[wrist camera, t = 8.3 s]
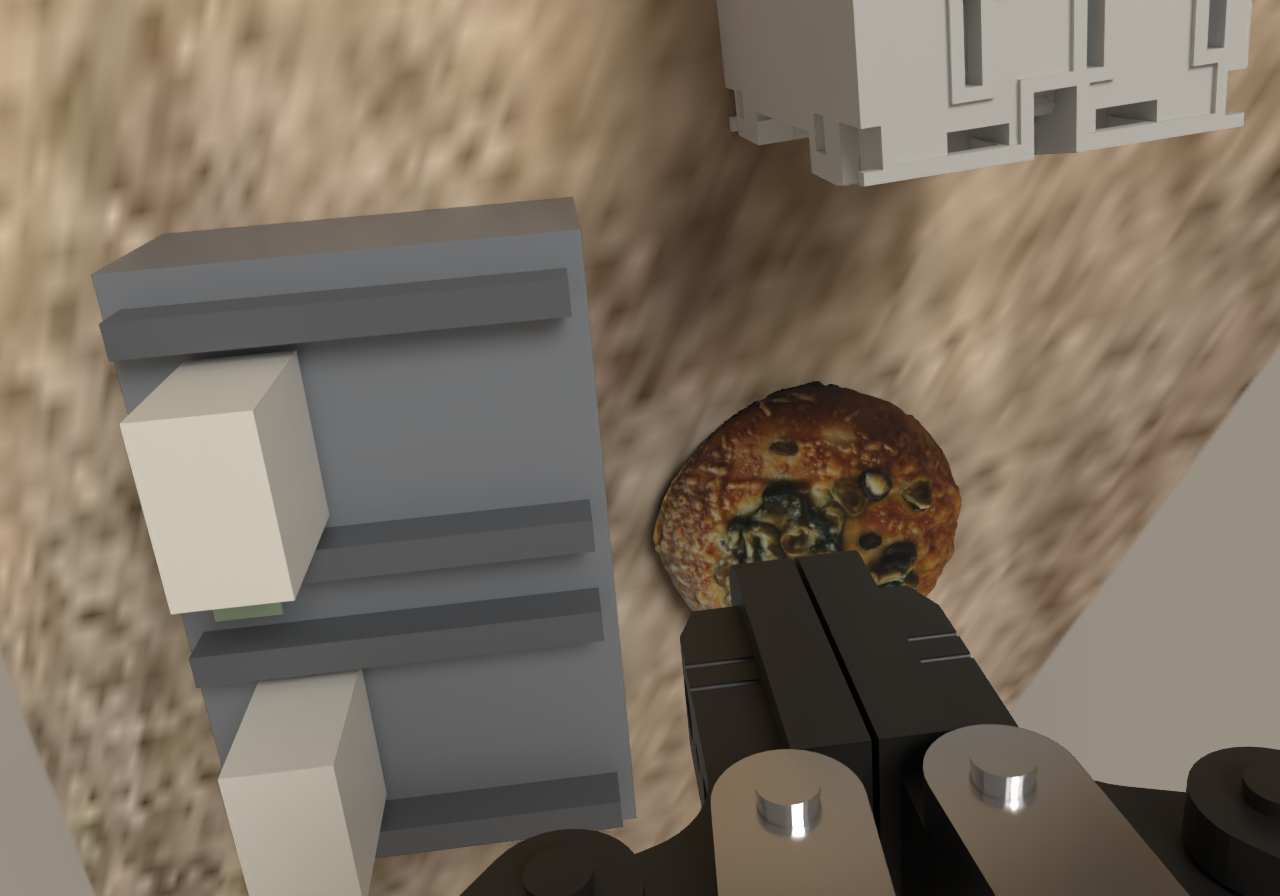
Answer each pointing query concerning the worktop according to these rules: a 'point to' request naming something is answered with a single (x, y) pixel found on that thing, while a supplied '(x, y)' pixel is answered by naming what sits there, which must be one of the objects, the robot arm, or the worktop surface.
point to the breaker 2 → (306, 787)
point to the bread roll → (810, 493)
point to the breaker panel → (421, 500)
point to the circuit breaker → (975, 78)
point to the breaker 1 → (229, 480)
